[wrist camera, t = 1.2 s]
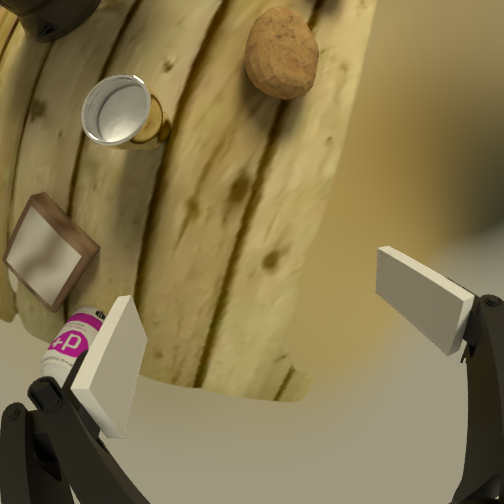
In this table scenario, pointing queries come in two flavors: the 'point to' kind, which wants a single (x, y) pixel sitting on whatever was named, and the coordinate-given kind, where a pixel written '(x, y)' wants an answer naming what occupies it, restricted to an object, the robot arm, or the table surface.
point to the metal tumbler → (124, 114)
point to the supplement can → (72, 342)
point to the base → (48, 251)
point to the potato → (281, 54)
